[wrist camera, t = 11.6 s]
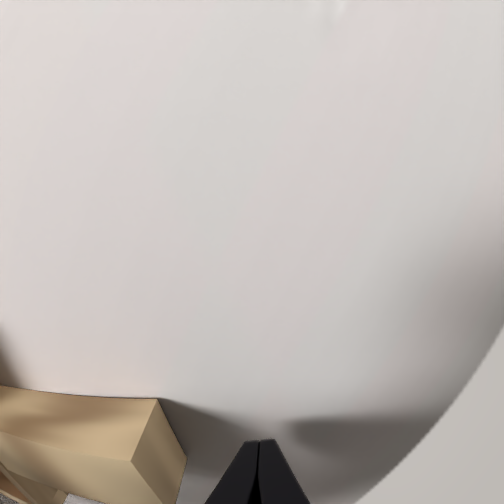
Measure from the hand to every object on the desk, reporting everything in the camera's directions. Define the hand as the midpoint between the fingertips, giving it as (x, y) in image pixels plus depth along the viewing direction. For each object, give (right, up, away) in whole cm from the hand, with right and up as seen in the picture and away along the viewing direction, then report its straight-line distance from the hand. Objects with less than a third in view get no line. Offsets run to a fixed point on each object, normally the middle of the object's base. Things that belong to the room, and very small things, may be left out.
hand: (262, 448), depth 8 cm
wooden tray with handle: (-12, -2, +2) cm, 12 cm away
